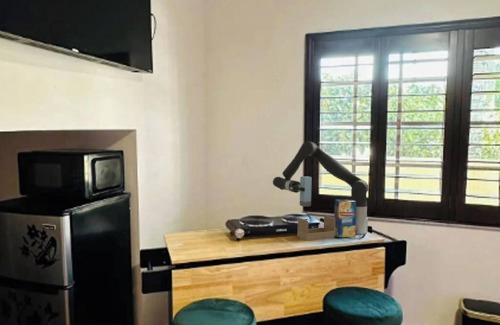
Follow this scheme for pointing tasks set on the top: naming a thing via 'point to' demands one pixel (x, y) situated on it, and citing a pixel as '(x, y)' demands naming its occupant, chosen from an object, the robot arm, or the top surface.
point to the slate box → (305, 196)
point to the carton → (316, 229)
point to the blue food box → (345, 218)
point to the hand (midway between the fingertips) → (308, 189)
